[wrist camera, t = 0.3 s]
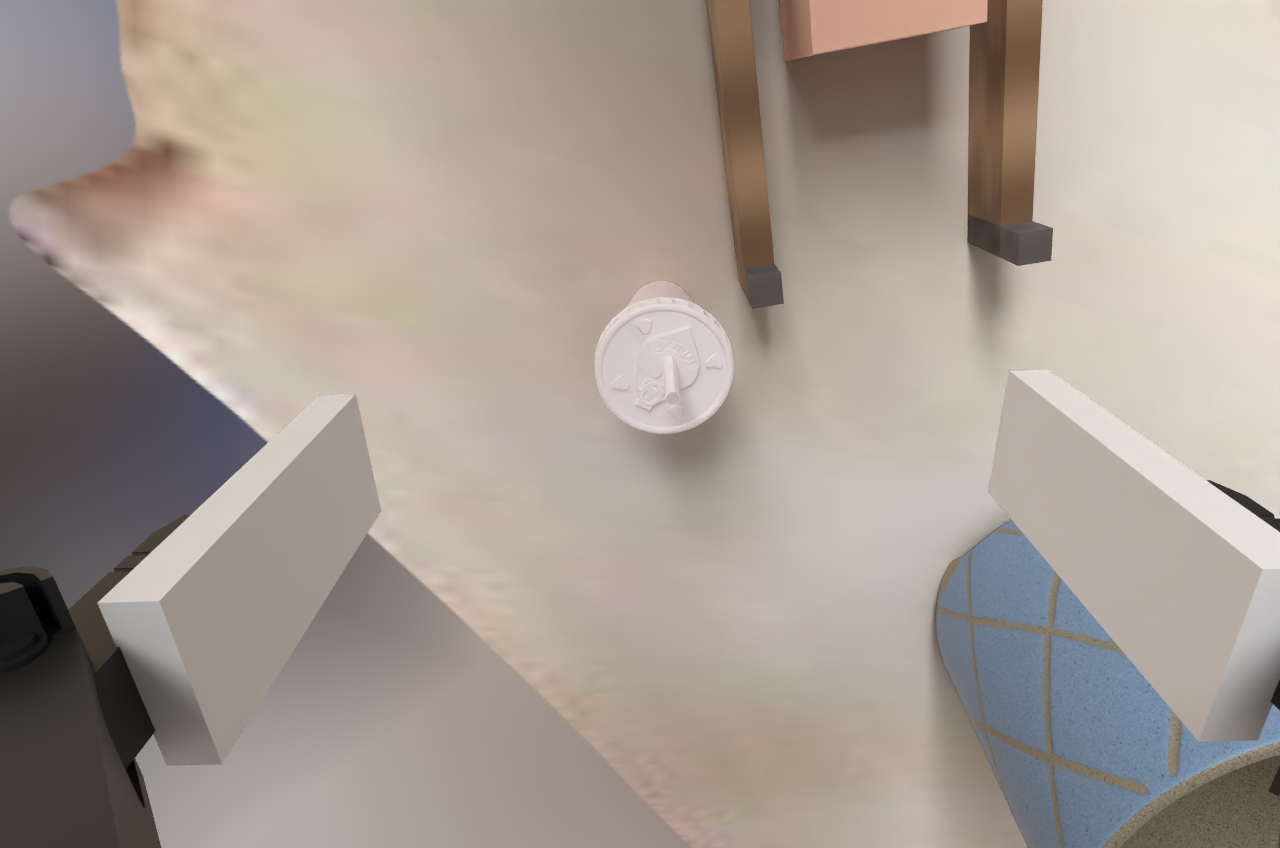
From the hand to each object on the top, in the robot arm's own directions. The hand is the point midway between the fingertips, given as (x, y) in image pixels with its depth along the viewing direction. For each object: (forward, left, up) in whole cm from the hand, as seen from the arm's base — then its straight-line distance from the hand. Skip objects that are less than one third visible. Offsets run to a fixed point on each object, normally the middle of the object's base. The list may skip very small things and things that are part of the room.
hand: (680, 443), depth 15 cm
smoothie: (+5, -1, -27) cm, 28 cm away
